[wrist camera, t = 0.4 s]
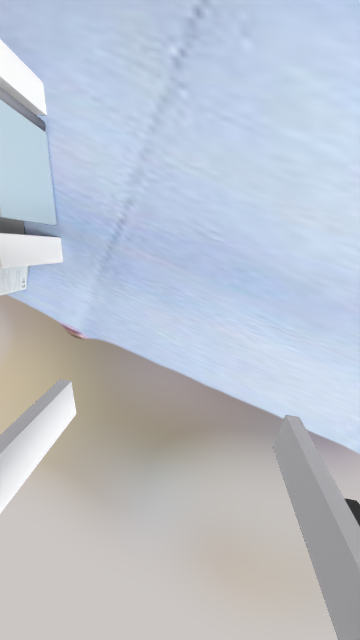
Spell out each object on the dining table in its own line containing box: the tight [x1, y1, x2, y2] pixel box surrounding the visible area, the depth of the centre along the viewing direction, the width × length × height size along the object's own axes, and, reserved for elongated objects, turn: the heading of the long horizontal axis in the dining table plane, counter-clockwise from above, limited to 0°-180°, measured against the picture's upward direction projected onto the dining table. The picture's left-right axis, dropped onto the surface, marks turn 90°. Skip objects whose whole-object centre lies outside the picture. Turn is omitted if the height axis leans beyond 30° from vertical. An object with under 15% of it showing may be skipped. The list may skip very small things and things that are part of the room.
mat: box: [0, 217, 25, 235], centre depth 36 cm, size 8×8×1 cm
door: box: [0, 87, 57, 225], centre depth 27 cm, size 15×3×11 cm, turn 174°
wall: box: [0, 39, 63, 269], centre depth 27 cm, size 25×2×12 cm, turn 174°
